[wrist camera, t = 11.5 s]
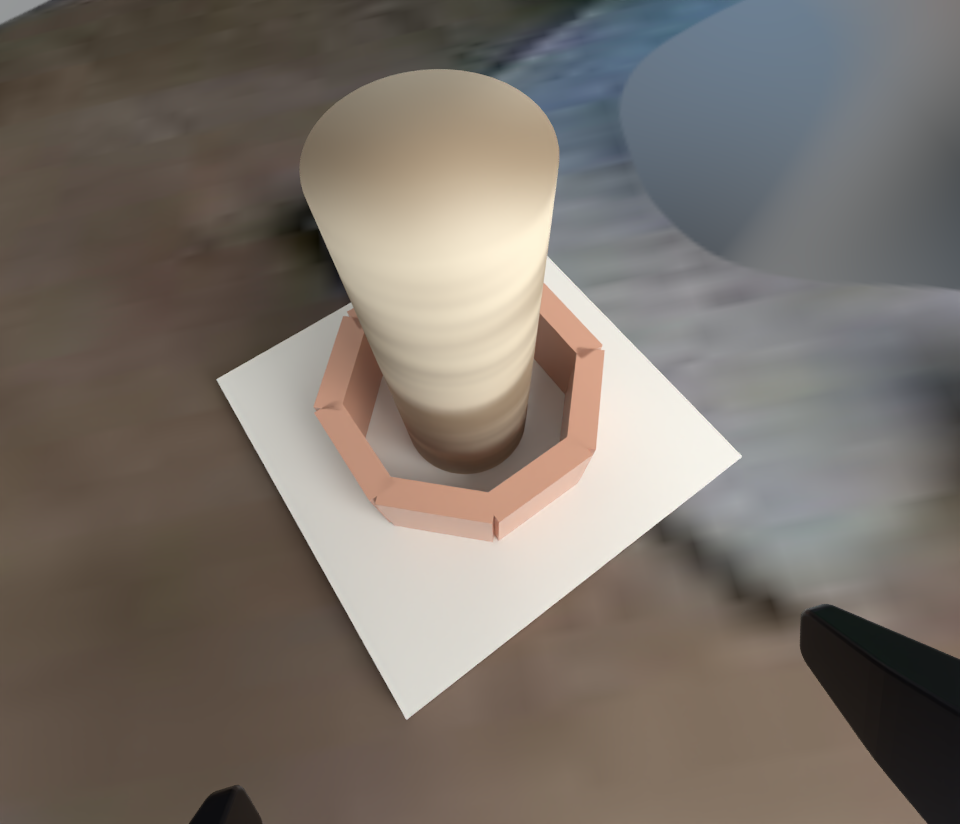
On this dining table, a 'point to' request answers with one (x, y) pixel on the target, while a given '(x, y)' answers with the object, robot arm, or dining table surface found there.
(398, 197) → the beech peg
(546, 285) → the octagonal ring base
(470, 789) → the dining table surface
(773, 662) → the dining table surface
